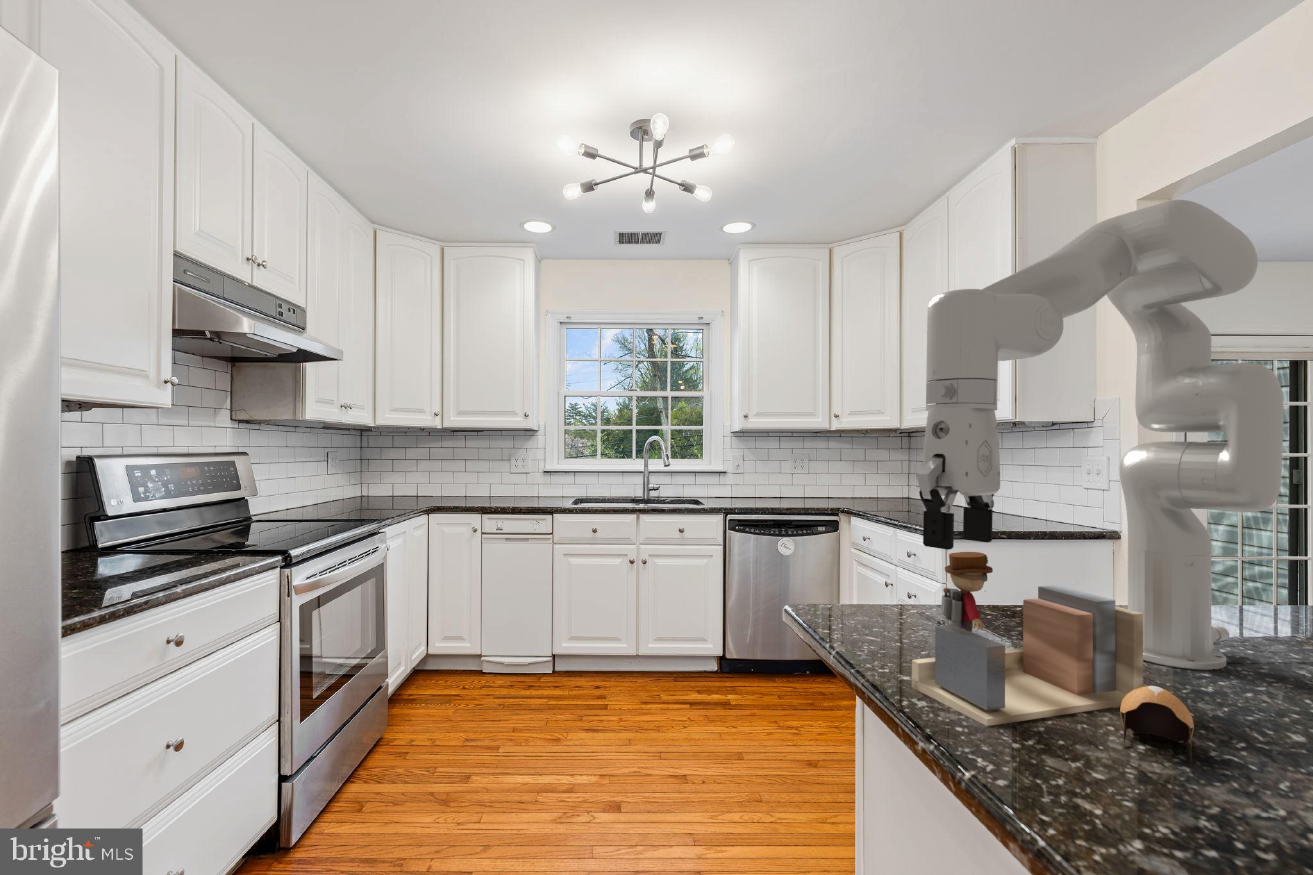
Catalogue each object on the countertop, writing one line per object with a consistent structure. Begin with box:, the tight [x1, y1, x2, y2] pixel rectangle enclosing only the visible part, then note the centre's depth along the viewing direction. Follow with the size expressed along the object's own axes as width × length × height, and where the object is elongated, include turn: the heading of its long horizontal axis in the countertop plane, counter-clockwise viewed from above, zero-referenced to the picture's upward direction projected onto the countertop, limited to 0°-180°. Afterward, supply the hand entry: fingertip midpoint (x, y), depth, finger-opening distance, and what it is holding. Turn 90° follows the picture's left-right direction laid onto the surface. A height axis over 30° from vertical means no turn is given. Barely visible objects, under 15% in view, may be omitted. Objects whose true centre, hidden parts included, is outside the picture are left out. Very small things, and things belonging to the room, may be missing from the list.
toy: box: [940, 551, 994, 633], centre depth 90 cm, size 11×7×15 cm, turn 168°
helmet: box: [1119, 685, 1195, 764], centre depth 62 cm, size 6×7×8 cm
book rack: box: [911, 584, 1144, 727], centre depth 75 cm, size 23×12×12 cm, turn 106°
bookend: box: [934, 624, 1006, 711], centre depth 72 cm, size 2×8×7 cm, turn 16°
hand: (958, 544), depth 71 cm, fingers open, 9 cm apart
